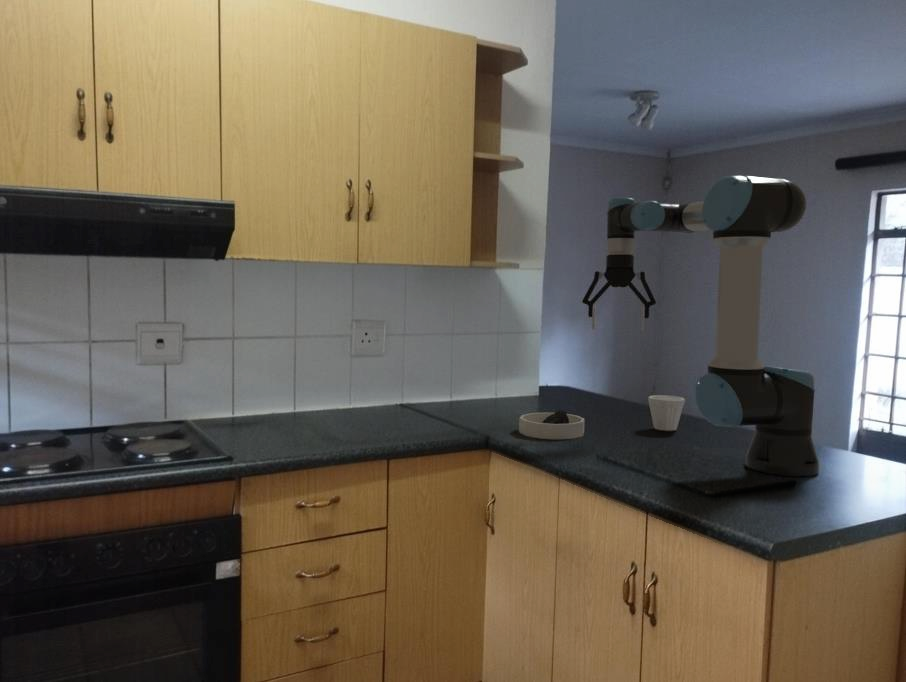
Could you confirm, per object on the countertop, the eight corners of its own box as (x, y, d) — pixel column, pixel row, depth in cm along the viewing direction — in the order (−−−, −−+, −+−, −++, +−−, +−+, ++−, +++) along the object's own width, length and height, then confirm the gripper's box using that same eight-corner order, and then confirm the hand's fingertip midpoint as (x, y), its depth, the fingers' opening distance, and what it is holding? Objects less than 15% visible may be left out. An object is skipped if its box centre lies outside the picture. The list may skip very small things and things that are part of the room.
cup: (682, 427, 208) (683, 396, 208) (684, 434, 199) (685, 401, 198) (647, 425, 211) (648, 394, 210) (647, 431, 201) (648, 399, 201)
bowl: (581, 441, 188) (581, 426, 188) (515, 436, 193) (515, 422, 192) (585, 428, 205) (586, 414, 205) (525, 424, 210) (525, 411, 209)
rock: (534, 434, 194) (535, 412, 193) (544, 427, 203) (545, 407, 203) (559, 436, 191) (560, 415, 190) (569, 429, 200) (569, 409, 200)
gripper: (665, 254, 201) (663, 329, 203) (576, 254, 207) (574, 327, 209) (666, 253, 194) (664, 331, 195) (574, 253, 200) (572, 329, 202)
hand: (617, 329), depth 202 cm, fingers open, 13 cm apart
